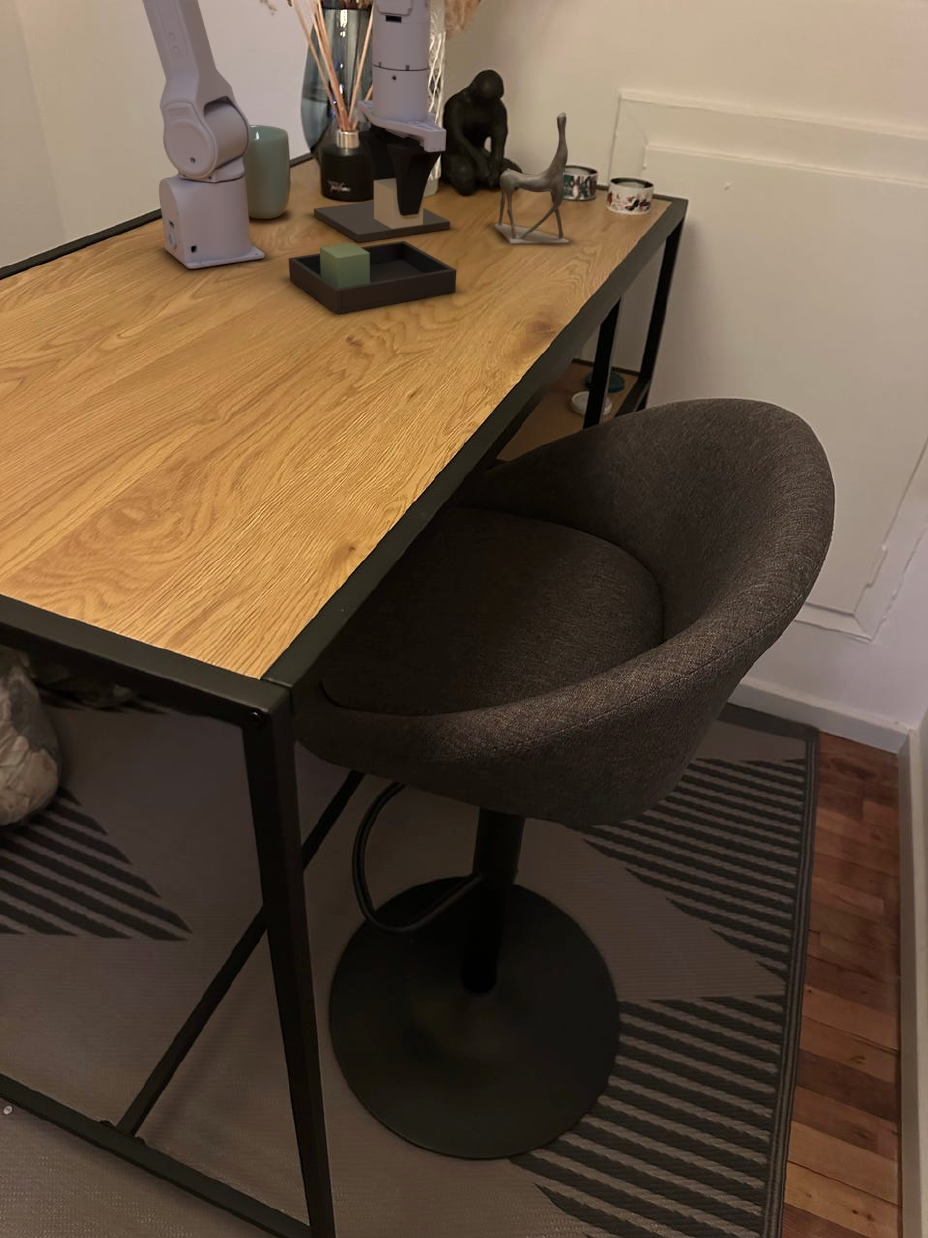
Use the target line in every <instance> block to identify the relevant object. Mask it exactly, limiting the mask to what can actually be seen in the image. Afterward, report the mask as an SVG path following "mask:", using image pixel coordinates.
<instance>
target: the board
mask: <svg viewBox="0 0 928 1238" xmlns="http://www.w3.org/2000/svg"><path fill="white" fill-rule="evenodd" d="M313 217H315V218H316V219H318V220H320V221H321V222H322V223H324V224H327V225H328V226H329V227H331V228H333V229H335V230H336V231H338V232H339V233H341V234H343V235H345V236H346V237H348V238H350V239H351V240H353V241H355V242H356V243H366V242H372V241H380V240H387V239H391V238H399V237H405V236H413V235H418V234H419V235H420V234H426V233H432V232H439V231H446V230H450V229H451V221H450V220H448V219H446V218H444V217H443V216H440V215H439V214H436V213H435V212H433V211H430V210H428V209H427V208H424V207H423V225H417V226H410V227H403V228H395V229H391V228H390V227H388V226H386V225H384V224H383V223H381V222H379V221H377V220H375V219H374V200H370V201H364V202H362V201H361V202H356V203H354V202H353V203H348V204H339V205H330V206H324V207H315V208H313Z"/></svg>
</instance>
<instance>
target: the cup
mask: <svg viewBox="0 0 928 1238" xmlns="http://www.w3.org/2000/svg"><path fill="white" fill-rule="evenodd" d="M249 125H250V129H251V143H250V147H249V149H248V151H247V153H246V154H245V155H244V156H243V165H244V170H245V173H244V174H245V182H246V193H247V204H248V216H249V218H252V219H255V220H256V219H257V220H271V219H272V220H273V219H276V218H278V217H280V216H281V215H283V214H284V213H285V212H286V210H287V208H288V206H289V202H290V197H291V183H292V182H291V180H292V179H291V156H290V140H289V139H290V138H289V133H288V131H287V130H286V129H284V128H280V127H276V126H272V125H271V126H270V125H262V124H249Z"/></svg>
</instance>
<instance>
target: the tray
mask: <svg viewBox="0 0 928 1238" xmlns="http://www.w3.org/2000/svg"><path fill="white" fill-rule="evenodd" d="M360 247H361V248H362V249H364V250H365V251H367V252H369V253H370V283H367V284H362V285H356V286H350V287H344V288H337V287H336V286H334V285H333V284H331V283H330V282H328V281H327V280H325V279H324V278H323V277H321V265H320V252H318V253H314V254H313V253H312V254H307V255H301V256H294V257H288V269H289V270H288V271H289V281H290V282H291V283H293V284H294V285H296V286H297V287H299V288H300V289H301V290H303V291H304V292H305V293H307V294H308V295H309V296H311V297H312V298H314V299H316V301H318V302H319V303H321V304H322V305H324V306H325V307H326V308H328V309H329V310H330V311H332V312H333V313H334V314H336V315H340V314H341V315H342V314H347V313H351V312H357V311H362V310H367V309H373V308H377V307H378V308H379V307H383V306H384V307H385V306H388V305H395V304H399V303H404V302H411V301H414V300H415V301H416V300H421V299H426V298H431V297H438V296H442V295H447V294H453V293H456V287H457V272H458V271H457V269H455V268H454V267H452V266H450V265H449V264H447V263H445V262H443V261H441V260H440V259H438V258H436V257H434V256H433V255H431V254H430V253H427V252H425V251H424V250H421V249H420V248H418V247H417V246H415V245H413V244H411V243H410V242H407V241H406V240H400V241H399V240H398V241H393V242H386V243H379V244H374V245H373V244H372V245H366V246H360Z"/></svg>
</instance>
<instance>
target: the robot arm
mask: <svg viewBox="0 0 928 1238" xmlns="http://www.w3.org/2000/svg"><path fill="white" fill-rule="evenodd" d="M142 4H143V7H144V10H145V14H146V17H147V20H148V24H149V27H150V30H151V35H152V37H153V41H154V43H155V46H156V50H157V53H158V57H159V60H160V65H161V67H162V70H163V75H164V77H165V84H164V86H163V90H162V94H161V98H160V100H159V109H160V113H161V115H162V120H163V131H162V132H163V133H162V142H163V148H164V151H165V154H166V156H167V158H168V160H169V162H170V163H171V164H172V166H173V167H174V168H175V169H176V171H177V174H175V175H173V176H170V177H165V178H162V179H161V180H160V181H159V184H158V197H159V205H160V211H161V218H162V225H163V232H164V238H165V245H164V250H165V251H166V252H168V253H169V254H170V255H172V256H173V257H174V258H175V259H176V260H177V261H179V262H180V263H181V264H182V265H184V266H185V267H186V268H187V269H190V270H193V269H199V268H200V269H201V268H206V267H211V266H212V267H213V266H220V265H226V264H227V265H228V264H235V263H240V262H247V261H254V260H261V259H264V258H266V254H265V252H263V251H262V250H260V249H259V248H257V247H256V246H255V245H253V244H252V241H251V230H250V229H251V227H250V217H249V216H248V204H247V193H246V182H245V174H244V173H245V170H244V165H243V156H244V155H245V154H246V153H247V151H248V149H249V147H250V143H251V129H250V125H251V124H250V122H249V120H248V118H247V116H246V114H245V113H244V112H243V110H242V109H241V107H240V106H239V104H238V103H237V100H236V97H235V95H234V91H233V88H232V85H231V84H230V83H229V82H228V80H226V78H225V77H224V76H223V75H222V74H221V73H220V72H219V70H218V69H217V66H216V63H215V60H214V59H215V58H214V56H213V55H214V54H213V52H212V48H211V44H210V41H209V38H208V33H207V30H206V26H205V22H204V17H203V15H202V10H201V8H200V4H199V1H198V0H142ZM371 13H372V15H371V17H372V63H371V64H372V65H371V66H372V67H371V68H372V81H371V82H372V99H371V100H358V101H357V121H358V122H359V123H361V124H362V123H363V124H366V123H368V124H370V127H368V130H361V131H358V134H357V138H358V140H359V142H360V144H361V146H362V149H363V151H364V153H365V155H366V158H367V160H368V164H369V168H370V171H371V174H372V179H373V181H374V180H383V179H392V178H396V185H397V200H398V207H399V212H400V214H401V215H402V216H406V215H414V214H418V213H419V210H420V206H421V202H422V198H423V195H424V196H425V191H426V187H427V184H428V181H429V178H430V176H431V173H432V171H433V169H434V167H435V165H436V163H437V162H438V160H439V158H440V157H441V156H442V152H445V151H446V142H447V140H446V139H447V130H446V129H445V128H442V127H441V126H439V125H438V124H437V123H436V121H437V114H436V113H434V112H432V111H429V81H430V57H431V55H430V54H431V27H432V23H431V21H432V12H431V0H372V12H371Z"/></svg>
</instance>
